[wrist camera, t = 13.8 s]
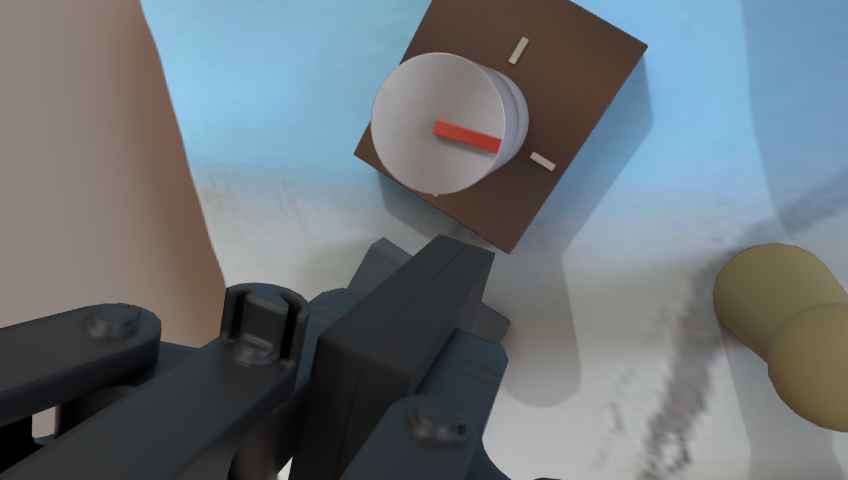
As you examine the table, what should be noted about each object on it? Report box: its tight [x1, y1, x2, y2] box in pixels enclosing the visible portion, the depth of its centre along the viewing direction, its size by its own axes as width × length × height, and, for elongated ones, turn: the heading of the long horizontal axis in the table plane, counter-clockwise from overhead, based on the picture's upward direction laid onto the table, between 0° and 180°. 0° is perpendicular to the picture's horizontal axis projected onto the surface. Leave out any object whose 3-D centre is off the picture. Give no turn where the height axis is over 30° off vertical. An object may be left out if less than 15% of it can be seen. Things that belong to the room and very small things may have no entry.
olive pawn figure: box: [713, 243, 848, 432], centre depth 26 cm, size 6×6×11 cm
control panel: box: [354, 0, 648, 254], centre depth 32 cm, size 13×11×3 cm
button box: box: [347, 238, 510, 344], centre depth 37 cm, size 12×10×4 cm
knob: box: [371, 52, 529, 195], centre depth 26 cm, size 6×6×9 cm
